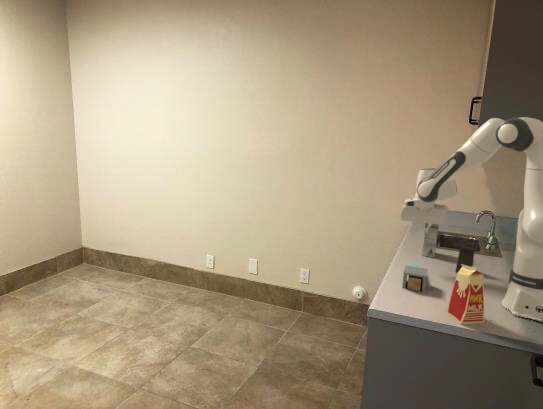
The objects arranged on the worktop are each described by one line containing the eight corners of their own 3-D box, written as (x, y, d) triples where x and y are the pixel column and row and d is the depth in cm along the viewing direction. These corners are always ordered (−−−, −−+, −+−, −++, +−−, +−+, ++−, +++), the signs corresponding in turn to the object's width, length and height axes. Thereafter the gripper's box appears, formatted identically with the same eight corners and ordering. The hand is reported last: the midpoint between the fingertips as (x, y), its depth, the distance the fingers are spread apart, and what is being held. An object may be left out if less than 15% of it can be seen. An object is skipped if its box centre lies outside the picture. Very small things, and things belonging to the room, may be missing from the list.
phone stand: (469, 275, 179) (473, 250, 176) (455, 272, 182) (458, 247, 180) (472, 269, 186) (476, 245, 184) (458, 266, 190) (462, 243, 187)
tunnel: (403, 280, 171) (405, 265, 170) (425, 283, 168) (427, 268, 166) (402, 287, 163) (403, 272, 162) (425, 292, 160) (427, 276, 158)
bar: (409, 269, 185) (410, 261, 184) (418, 270, 184) (419, 262, 183) (411, 284, 168) (412, 275, 167) (421, 285, 167) (422, 276, 166)
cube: (407, 284, 167) (409, 273, 166) (420, 286, 166) (421, 275, 164) (407, 288, 163) (408, 277, 162) (419, 290, 161) (421, 279, 160)
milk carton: (484, 323, 136) (493, 268, 132) (461, 325, 134) (469, 270, 130) (466, 310, 145) (474, 259, 141) (444, 312, 143) (451, 260, 139)
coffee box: (422, 250, 212) (425, 221, 208) (434, 252, 210) (438, 223, 206) (421, 255, 203) (425, 225, 200) (434, 257, 201) (438, 227, 198)
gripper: (448, 204, 181) (445, 233, 184) (402, 199, 189) (399, 227, 192) (449, 206, 175) (445, 236, 178) (401, 201, 183) (398, 230, 186)
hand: (421, 231), depth 185 cm, fingers open, 3 cm apart
